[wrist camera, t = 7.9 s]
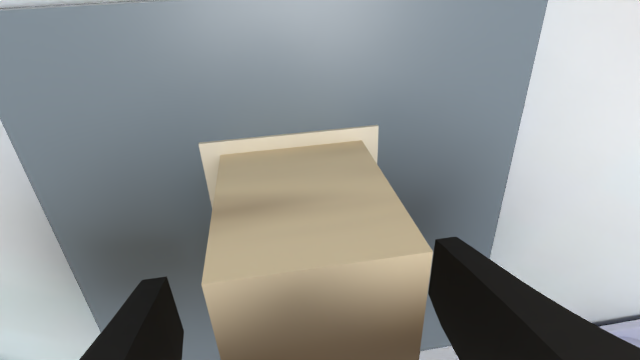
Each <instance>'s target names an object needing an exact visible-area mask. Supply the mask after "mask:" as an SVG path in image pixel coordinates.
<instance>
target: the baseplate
mask: <svg viewBox="0 0 640 360" xmlns="http://www.w3.org/2000/svg"><path fill="white" fill-rule="evenodd" d="M547 2H548V0H144V1H127V2H109V3H91V4H74V5H56V6H38V7H20V8H3V9H0V119H1V121H2V124H3V126H4V128H5V130H6V132H7V134H8V136H9V138H10V141H11V143H12V145H13V147H14V149H15V151H16V153H17V155H18V158H19V160H20V162H21V164H22V166H23V168H24V170H25V172H26V174H27V177H28V179H29V181H30V183H31V185H32V187H33V189H34V191H35V194H36V196H37V198H38V200H39V202H40V204H41V206H42V208H43V211H44V213H45V215H46V217H47V219H48V221H49V223H50V225H51V227H52V230H53V232H54V234H55V236H56V238H57V240H58V242H59V244H60V247H61V249H62V251H63V253H64V255H65V257H66V259H67V261H68V264H69V266H70V268H71V270H72V272H73V274H74V276H75V278H76V280H77V283H78V285H79V287H80V289H81V291H82V293H83V295H84V297H85V300H86V302H87V304H88V306H89V308H90V310H91V312H92V314H93V317H94V319H95V321H96V323H97V325H98V327H99V329H100V331H101V332H102V331H103V330H104V328H105V327H106V326H107V325H108V323H109V322H110V321H111V319H112V318H113V317H114V316H115V314H116V313H117V312H118V310H119V309H120V308H121V306H122V305H123V304H124V302H125V301H126V300H127V298H128V297H129V296H130V294H131V293H132V292H133V291H134V289H135V288H136V287H137V285H138V284H139V283H140V282H141V281H142V280H145V279H152V278H159V277H166V276H167V279H168V282H169V285H170V288H171V291H172V294H173V298H174V301H175V304H176V307H177V310H178V313H179V317H180V320H181V323H182V326H183V329H184V338H183V351H182V360H221V358H220V354H219V351H218V347H217V343H216V339H215V335H214V331H213V328H212V324H211V320H210V316H209V312H208V308H207V305H206V301H205V297H204V293H203V289H202V285H201V283H202V277H203V270H204V263H205V256H206V249H207V243H208V236H209V229H210V222H211V215H212V208H213V202H214V195H215V188H216V181H217V174H218V167H219V161H220V155H225V154H234V153H244V152H254V151H263V150H273V149H283V148H292V147H302V146H311V145H321V144H331V143H340V142H350V141H359V140H362V141H363V143H364V144H365V146H366V148H367V149H368V151H369V152H370V154H371V155H372V157H373V159H374V160H375V162H376V163H377V165H378V166H379V168H380V169H381V171H382V173H383V174H384V176H385V177H386V179H387V180H388V182H389V184H390V185H391V187H392V188H393V190H394V191H395V193H396V195H397V196H398V198H399V199H400V201H401V202H402V204H403V205H404V207H405V209H406V210H407V212H408V213H409V215H410V216H411V218H412V220H413V221H414V223H415V224H416V226H417V227H418V229H419V231H420V232H421V234H422V235H423V237H424V238H425V240H426V242H427V243H428V245H429V246H430V248H431V249H432V251H433V253H434V245H435V239H442V238H449V237H458V238H459V239H461V240H462V241H464V242H465V243H467V244H468V245H470V246H471V247H473V248H474V249H476V250H477V251H478V252H480V253H481V254H483V255H484V256H486V257H487V258H490V254H491V249H492V245H493V241H494V236H495V232H496V227H497V223H498V218H499V214H500V210H501V205H502V201H503V196H504V192H505V188H506V183H507V179H508V174H509V170H510V166H511V161H512V157H513V152H514V148H515V143H516V139H517V135H518V130H519V126H520V121H521V117H522V113H523V108H524V104H525V99H526V95H527V90H528V86H529V82H530V77H531V73H532V68H533V64H534V60H535V55H536V51H537V46H538V42H539V38H540V33H541V29H542V24H543V20H544V15H545V11H546V7H547ZM432 260H433V256H432ZM431 268H432V263H431ZM430 275H431V271H430ZM429 283H430V278H429ZM428 291H429V286H428ZM447 346H452V345H451V343H450V342H449V340H448V338H447V336H446V334H445V332H444V330H443V329H442V327H441V324H440V322H439V319H438V317H437V315H436V312H435V310H434V307H433V305H432V302H431V299H430V297H429V294H427V301H426V309H425V316H424V324H423V331H422V339H421V347H420V351H424V350H429V349H435V348H441V347H447Z"/></svg>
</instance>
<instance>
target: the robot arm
mask: <svg viewBox="0 0 640 360" xmlns="http://www.w3.org/2000/svg"><path fill="white" fill-rule="evenodd" d="M428 294H429V297H430V299H431V302H432V305H433V307H434V310H435V312H436V315H437V317H438V319H439V322H440V324H441V327H442V329H443V330H444V332H445V334H446V336H447V338H448V340H449V342H450V343H451V345H452V347H453V349H454V351H455V353H456V354H457V356H458V358H459V360H640V319H639V320H633V321H627V322H621V323H616V324H610V325H604V326H599V327H598V326H596V325H594V324H592V323H590V322H588V321H587V320H585V319H583V318H581V317H580V316H578V315H576V314H574V313H572V312H571V311H569V310H567V309H566V308H564V307H562V306H561V305H559V304H557V303H556V302H554V301H552V300H551V299H549V298H547V297H546V296H544V295H543V294H541V293H539V292H538V291H536V290H535V289H533V288H532V287H530V286H529V285H527V284H525V283H524V282H522V281H521V280H519V279H518V278H516V277H515V276H513V275H512V274H510V273H509V272H507V271H506V270H505V269H503V268H502V267H500V266H499V265H497V264H496V263H494V262H493V261H491V260H490V259H489V258H487V257H486V256H484V255H483V254H481V253H480V252H478V251H477V250H476V249H474V248H473V247H471V246H470V245H468V244H467V243H465V242H464V241H462V240H461V239H459V238H458V237H449V238H442V239H435V245H434V253H433V260H432V268H431V275H430V283H429V291H428ZM183 338H184V329H183V326H182V323H181V320H180V317H179V313H178V310H177V307H176V304H175V301H174V298H173V294H172V291H171V288H170V285H169V282H168V279H167V276H166V277H159V278H152V279H145V280H142V281H141V282H140V283H139V284H138V285H137V287H136V288H135V289H134V291H133V292H132V293H131V294H130V296H129V297H128V298H127V300H126V301H125V302H124V304H123V305H122V306H121V308H120V309H119V310H118V312H117V313H116V314H115V316H114V317H113V318H112V319H111V321H110V322H109V323H108V325H107V326H106V327H105V328H104V330H103V331H102V332H101V333H100V335H99V336H98V337H97V338H96V340H95V341H94V342H93V343H92V345H91V346H90V347H89V348H88V350H87V351H86V352H85V353H84V355H83V356H82V357H81V358H80V360H182V351H183Z"/></svg>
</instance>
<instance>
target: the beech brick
mask: <svg viewBox="0 0 640 360" xmlns="http://www.w3.org/2000/svg"><path fill="white" fill-rule="evenodd" d="M432 256H433V251H432V249H431V248H430V246H429V245H428V243H427V242H426V240H425V238H424V237H423V235H422V234H421V232H420V231H419V229H418V227H417V226H416V224H415V223H414V221H413V220H412V218H411V216H410V215H409V213H408V212H407V210H406V209H405V207H404V205H403V204H402V202H401V201H400V199H399V198H398V196H397V195H396V193H395V191H394V190H393V188H392V187H391V185H390V184H389V182H388V180H387V179H386V177H385V176H384V174H383V173H382V171H381V169H380V168H379V166H378V165H377V163H376V162H375V160H374V159H373V157H372V155H371V154H370V152H369V151H368V149H367V148H366V146H365V144H364V143H363V141H362V140H359V141H350V142H340V143H331V144H321V145H311V146H302V147H292V148H283V149H273V150H263V151H254V152H244V153H234V154H225V155H220V161H219V167H218V174H217V181H216V188H215V195H214V202H213V208H212V215H211V222H210V229H209V236H208V243H207V249H206V256H205V263H204V270H203V277H202V283H201V285H202V289H203V293H204V297H205V301H206V305H207V308H208V312H209V316H210V320H211V324H212V328H213V331H214V335H215V339H216V343H217V347H218V351H219V354H220V358H221V360H419V354H420V347H421V339H422V331H423V324H424V316H425V309H426V301H427V294H428V286H429V278H430V271H431V263H432Z"/></svg>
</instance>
